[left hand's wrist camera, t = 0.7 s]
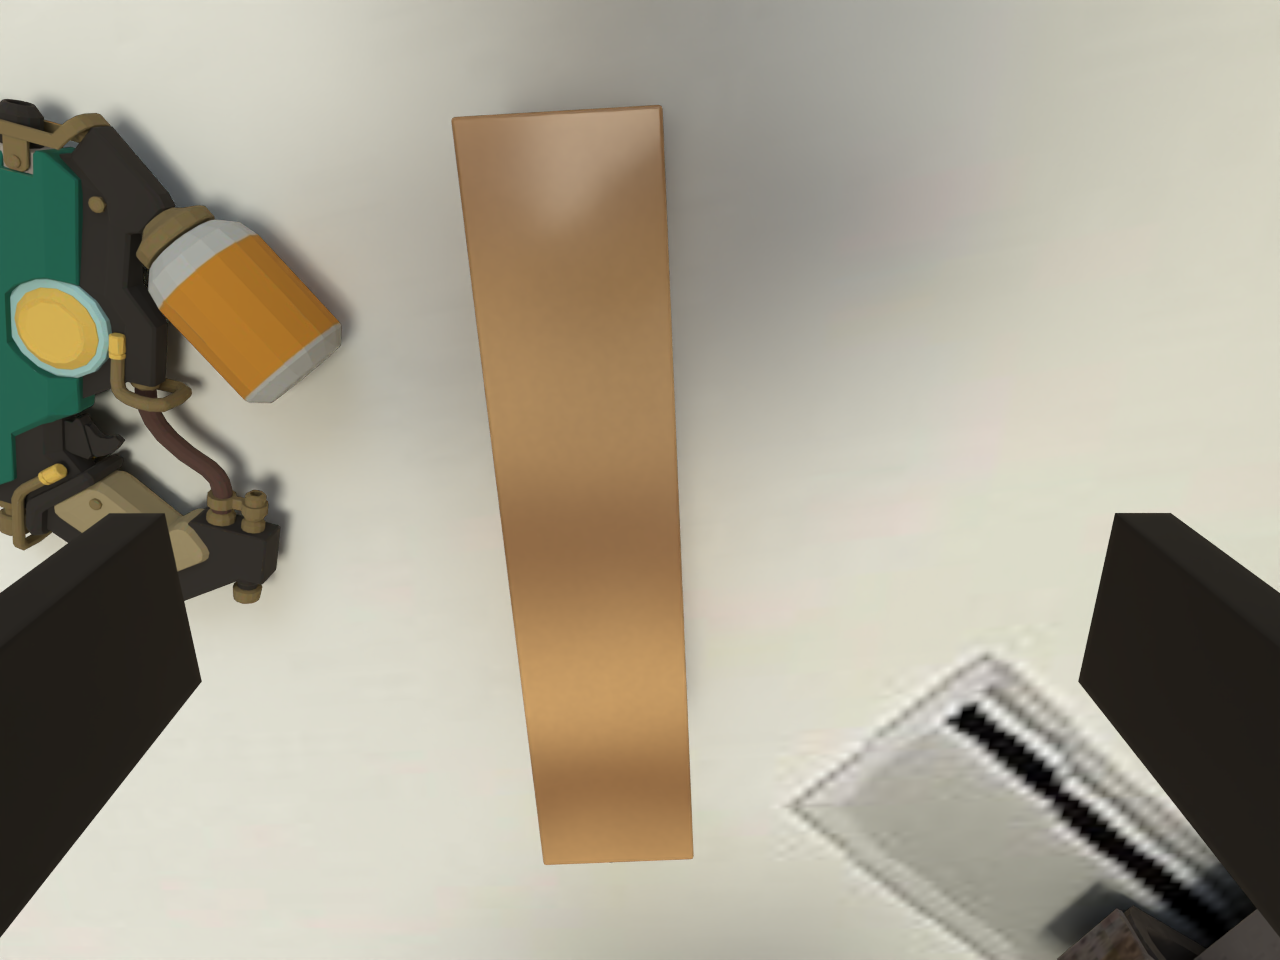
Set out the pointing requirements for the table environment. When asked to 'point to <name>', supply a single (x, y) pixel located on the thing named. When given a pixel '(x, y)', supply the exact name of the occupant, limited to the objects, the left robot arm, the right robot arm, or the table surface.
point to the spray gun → (131, 341)
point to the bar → (585, 465)
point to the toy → (1172, 940)
